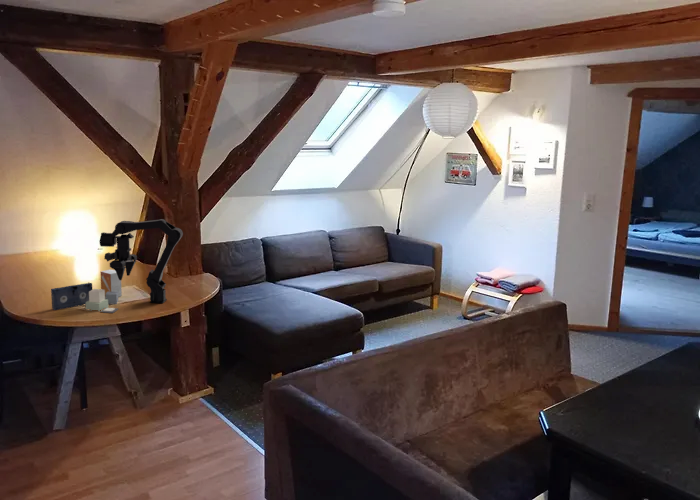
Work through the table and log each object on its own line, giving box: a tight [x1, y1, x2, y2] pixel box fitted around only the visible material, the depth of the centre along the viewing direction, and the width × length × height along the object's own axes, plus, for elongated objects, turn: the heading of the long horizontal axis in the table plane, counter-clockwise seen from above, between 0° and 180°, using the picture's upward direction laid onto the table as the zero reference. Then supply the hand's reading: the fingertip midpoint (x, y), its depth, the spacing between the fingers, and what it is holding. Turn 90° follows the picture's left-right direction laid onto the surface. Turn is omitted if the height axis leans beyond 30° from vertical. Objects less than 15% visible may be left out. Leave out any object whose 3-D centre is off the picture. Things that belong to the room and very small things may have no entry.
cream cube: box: [89, 288, 106, 303], centre depth 260 cm, size 5×5×5 cm
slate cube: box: [105, 291, 119, 305], centre depth 270 cm, size 5×5×5 cm
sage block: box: [85, 298, 109, 312], centre depth 261 cm, size 7×7×4 cm
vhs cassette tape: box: [50, 282, 94, 311], centre depth 262 cm, size 18×3×10 cm, turn 139°
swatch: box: [99, 307, 119, 314], centre depth 258 cm, size 6×6×1 cm
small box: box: [100, 269, 123, 298], centre depth 280 cm, size 8×6×13 cm
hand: (124, 277), depth 272 cm, fingers open, 9 cm apart
